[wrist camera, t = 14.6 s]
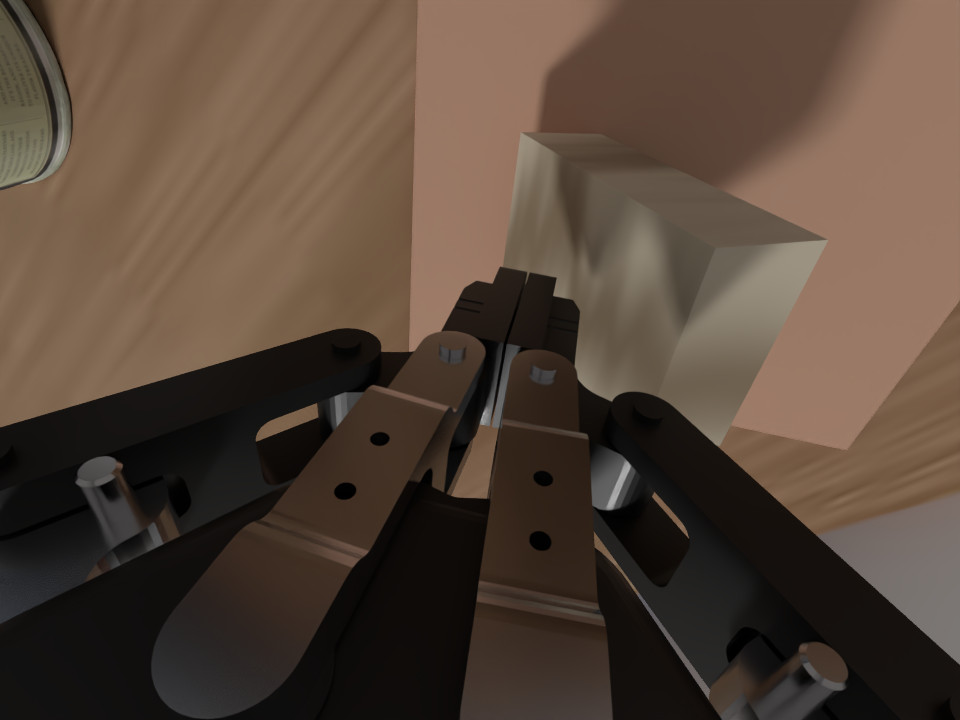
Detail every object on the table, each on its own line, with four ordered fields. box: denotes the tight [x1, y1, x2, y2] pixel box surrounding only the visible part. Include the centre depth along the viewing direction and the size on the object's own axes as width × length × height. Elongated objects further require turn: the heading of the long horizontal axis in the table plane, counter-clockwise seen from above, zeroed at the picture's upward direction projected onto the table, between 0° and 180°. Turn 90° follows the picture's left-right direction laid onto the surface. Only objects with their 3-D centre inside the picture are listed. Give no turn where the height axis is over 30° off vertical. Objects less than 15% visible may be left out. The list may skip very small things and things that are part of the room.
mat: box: [409, 0, 960, 450], centre depth 19 cm, size 16×20×1 cm
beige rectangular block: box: [503, 132, 828, 446], centre depth 15 cm, size 6×3×9 cm
